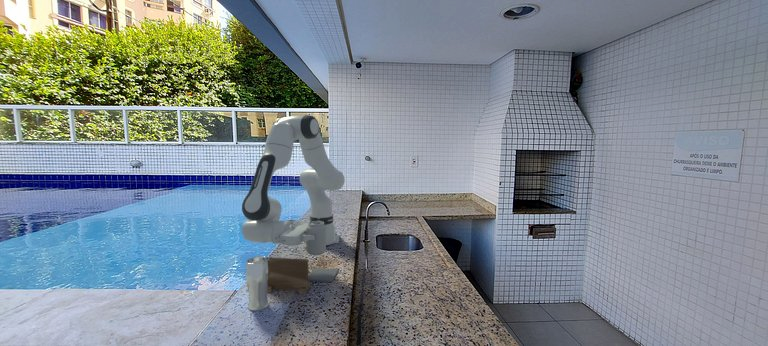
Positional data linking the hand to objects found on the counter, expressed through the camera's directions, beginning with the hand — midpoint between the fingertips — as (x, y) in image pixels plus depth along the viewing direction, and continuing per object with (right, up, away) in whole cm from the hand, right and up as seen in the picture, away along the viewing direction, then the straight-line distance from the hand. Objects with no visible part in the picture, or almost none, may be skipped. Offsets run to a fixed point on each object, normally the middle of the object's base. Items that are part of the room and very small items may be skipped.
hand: (318, 233), depth 120 cm
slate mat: (+1, -17, +1) cm, 17 cm away
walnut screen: (-8, -17, -11) cm, 22 cm away
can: (-1, -8, +1) cm, 8 cm away
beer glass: (-14, -19, -23) cm, 33 cm away
